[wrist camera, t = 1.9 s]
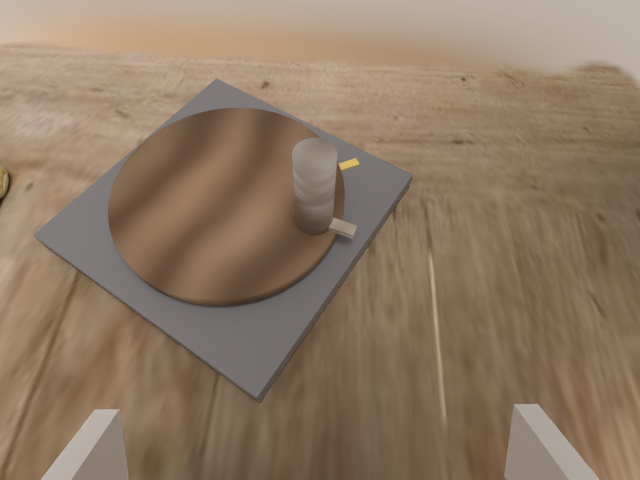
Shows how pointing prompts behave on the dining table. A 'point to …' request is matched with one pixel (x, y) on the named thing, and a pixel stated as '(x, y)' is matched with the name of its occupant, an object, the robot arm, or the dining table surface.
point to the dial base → (246, 319)
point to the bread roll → (3, 181)
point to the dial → (228, 206)
